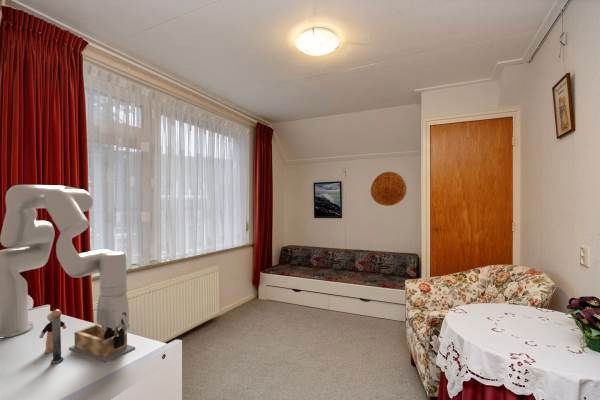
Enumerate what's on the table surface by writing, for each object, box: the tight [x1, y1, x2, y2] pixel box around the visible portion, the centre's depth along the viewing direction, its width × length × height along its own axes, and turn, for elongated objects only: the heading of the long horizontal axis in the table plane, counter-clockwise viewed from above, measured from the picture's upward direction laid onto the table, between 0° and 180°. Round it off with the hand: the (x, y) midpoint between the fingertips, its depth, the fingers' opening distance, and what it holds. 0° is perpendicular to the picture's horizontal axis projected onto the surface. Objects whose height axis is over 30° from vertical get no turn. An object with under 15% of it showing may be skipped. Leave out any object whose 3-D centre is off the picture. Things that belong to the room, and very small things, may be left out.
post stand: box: [50, 309, 64, 365], centre depth 94 cm, size 3×3×16 cm
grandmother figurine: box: [39, 311, 67, 354], centre depth 102 cm, size 8×4×13 cm, turn 168°
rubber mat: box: [68, 344, 136, 364], centre depth 102 cm, size 20×10×1 cm, turn 65°
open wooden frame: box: [73, 323, 128, 358], centre depth 102 cm, size 16×8×5 cm, turn 65°
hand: (114, 344), depth 99 cm, fingers open, 4 cm apart
